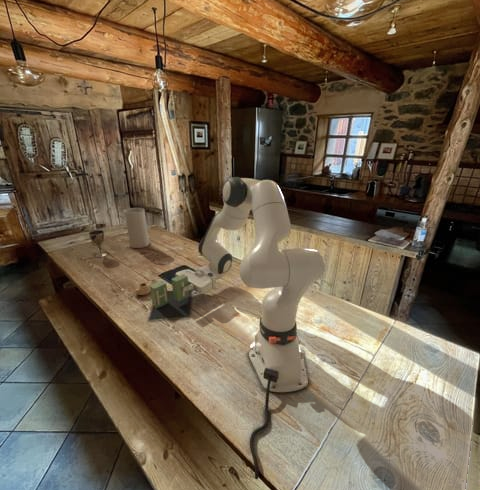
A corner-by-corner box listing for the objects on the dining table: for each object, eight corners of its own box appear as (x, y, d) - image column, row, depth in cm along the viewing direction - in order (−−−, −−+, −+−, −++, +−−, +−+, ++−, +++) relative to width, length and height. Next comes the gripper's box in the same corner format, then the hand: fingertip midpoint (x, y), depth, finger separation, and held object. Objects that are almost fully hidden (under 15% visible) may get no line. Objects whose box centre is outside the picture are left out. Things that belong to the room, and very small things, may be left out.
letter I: (189, 296, 120) (187, 276, 116) (178, 301, 116) (176, 281, 112) (184, 293, 122) (182, 274, 118) (173, 298, 118) (171, 278, 114)
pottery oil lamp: (163, 287, 133) (161, 279, 127) (144, 304, 126) (141, 296, 121) (150, 277, 135) (148, 269, 130) (131, 293, 129) (128, 286, 123)
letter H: (168, 303, 120) (166, 283, 116) (157, 308, 116) (154, 288, 112) (164, 299, 122) (161, 280, 118) (152, 305, 118) (149, 285, 114)
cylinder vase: (145, 248, 179) (140, 212, 169) (127, 248, 180) (120, 212, 169) (151, 242, 191) (146, 207, 181) (134, 242, 191) (128, 207, 181)
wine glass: (110, 254, 171) (106, 231, 165) (99, 258, 165) (93, 235, 159) (103, 251, 175) (98, 229, 169) (91, 255, 169) (86, 233, 163)
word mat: (188, 318, 111) (188, 316, 111) (149, 321, 109) (149, 319, 109) (191, 290, 131) (191, 289, 130) (157, 292, 129) (157, 291, 129)
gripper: (189, 263, 131) (165, 273, 121) (217, 277, 118) (192, 289, 109) (190, 275, 133) (166, 285, 124) (218, 289, 121) (193, 302, 111)
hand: (179, 287), depth 116 cm, fingers closed on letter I, 4 cm apart
